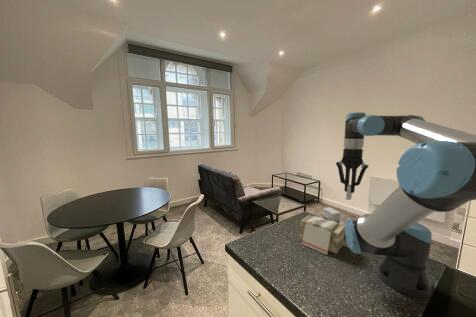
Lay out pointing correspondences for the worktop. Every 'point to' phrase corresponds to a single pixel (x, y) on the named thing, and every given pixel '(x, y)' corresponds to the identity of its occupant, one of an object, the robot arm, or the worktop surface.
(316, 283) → the worktop surface
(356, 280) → the worktop surface
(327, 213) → the ink box
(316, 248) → the stub
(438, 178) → the robot arm
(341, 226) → the ticket block
